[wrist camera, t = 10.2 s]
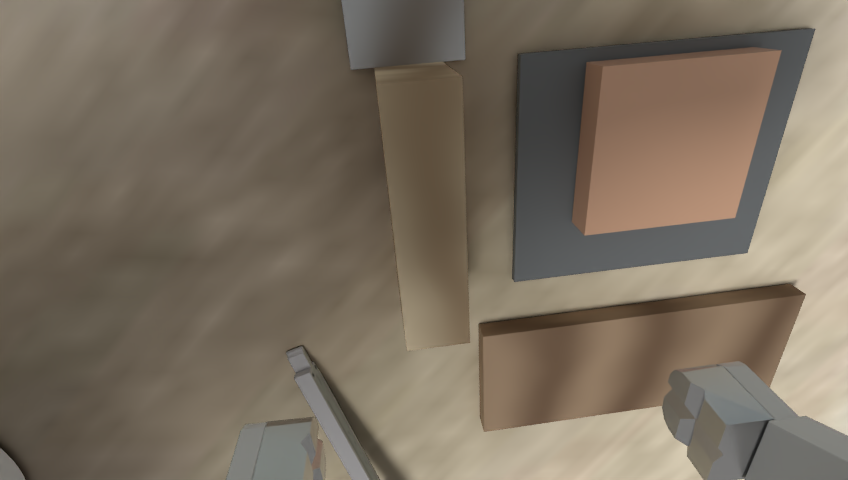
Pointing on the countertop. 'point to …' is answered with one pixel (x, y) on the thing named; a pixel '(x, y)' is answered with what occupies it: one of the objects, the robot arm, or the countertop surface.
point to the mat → (558, 153)
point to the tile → (668, 137)
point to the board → (625, 353)
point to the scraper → (421, 154)
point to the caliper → (330, 416)
